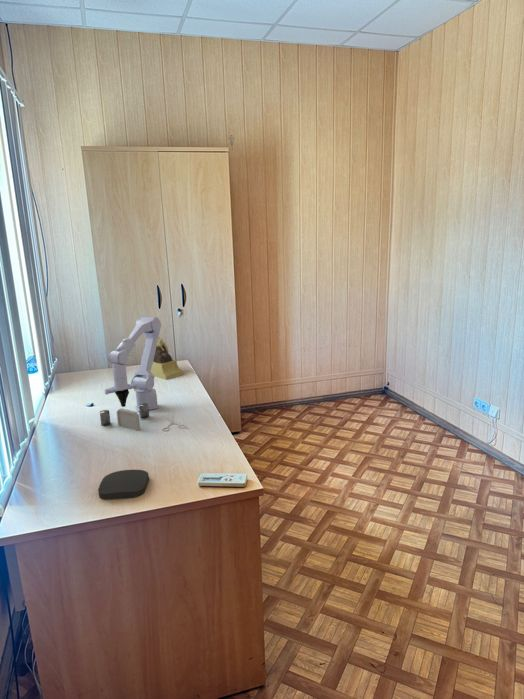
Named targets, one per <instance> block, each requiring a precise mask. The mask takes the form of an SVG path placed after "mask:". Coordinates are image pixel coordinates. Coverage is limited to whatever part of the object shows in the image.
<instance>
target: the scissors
mask: <svg viewBox="0 0 524 699" xmlns="http://www.w3.org/2000/svg"><path fill="white" fill-rule="evenodd" d="M164 417H165V418H166V420H167V421H168V422H169V424H168V425H167V426H166V427H164V428H162V432H169V431H170V430H171V428H170V426H172V425H177V427H178V428H179V429H187V430H189V429H190V428H189V427H187V425H185V424H180V423H176V422H175V419H174V418H175V416H174V414H172V417H171V418H172V419H170V418H168V416H166V415H165V416H164Z"/></svg>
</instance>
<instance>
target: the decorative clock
mask: <svg viewBox="0 0 524 699" xmlns="http://www.w3.org/2000/svg"><path fill="white" fill-rule="evenodd" d="M141 360H142V358H140V361H141ZM177 362H178V361H177V360H176V359H175V360H174V359H173V357H172V356H171V355H170V353H169V348H168V345H167V344H166V343H165V342H164V341H163V338H160V337H158V342H157V346H156V351H155V355H154V359H153V364H152V368H151V373H152V374H153V375H154V376H155V377H156V378H160V379H163V380H169V379H173V378H177V377H181V376H184V375H185V372H184V371H183V369H181V368H180V367H179V365H178V363H177ZM155 377H154V378H155Z"/></svg>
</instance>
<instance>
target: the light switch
mask: <svg viewBox="0 0 524 699" xmlns="http://www.w3.org/2000/svg"><path fill="white" fill-rule="evenodd" d="M116 416H117V419H116V420H117V426H118V427H123V428H127V429H131V430H134V431H137V432H138V431H141V424H140V423H141V422H140V414H139V413H138V411H135V410H130V409H125V408H123V407H122V408H119V409H118V410H117V411H116Z"/></svg>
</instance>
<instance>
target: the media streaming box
mask: <svg viewBox="0 0 524 699" xmlns="http://www.w3.org/2000/svg"><path fill="white" fill-rule="evenodd" d="M149 478H150V477H149V472H148V471H146V470H144V469H125V470H124V469H122V470H117V471H113V472H111V473H109V474H107V475H104V477H103V478H102V479H101V481H100V483H99V486H98V490H97V491H98V497H99V499H101V500H107V501H109V500H121V499H130V498H131V499H134V498H138V497H140V496H143V495H144V494H145V492H146V490H147V487H148V486H149V485H148V484H149V480H150V479H149Z"/></svg>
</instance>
